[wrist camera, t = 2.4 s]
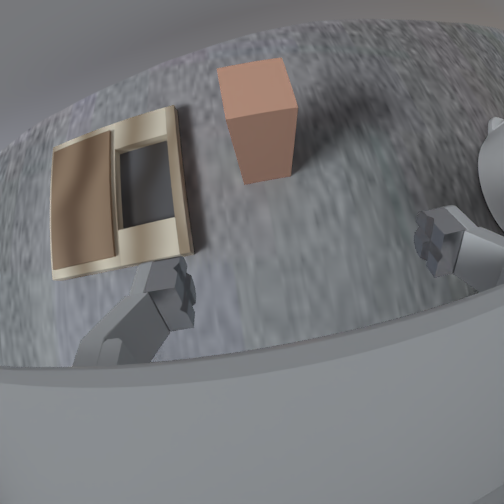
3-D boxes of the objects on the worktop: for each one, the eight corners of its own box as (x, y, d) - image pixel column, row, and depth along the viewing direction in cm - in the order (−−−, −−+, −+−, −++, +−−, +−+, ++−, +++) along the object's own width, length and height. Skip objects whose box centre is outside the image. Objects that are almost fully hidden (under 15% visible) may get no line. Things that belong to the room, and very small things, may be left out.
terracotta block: (281, 136, 30) (281, 57, 19) (290, 176, 30) (298, 107, 18) (236, 144, 31) (216, 68, 19) (244, 184, 30) (225, 119, 18)
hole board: (177, 112, 32) (172, 103, 30) (194, 254, 29) (189, 251, 27) (59, 152, 32) (51, 146, 31) (60, 280, 30) (50, 279, 28)
